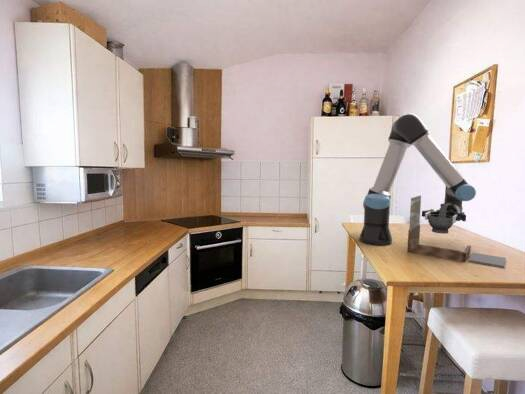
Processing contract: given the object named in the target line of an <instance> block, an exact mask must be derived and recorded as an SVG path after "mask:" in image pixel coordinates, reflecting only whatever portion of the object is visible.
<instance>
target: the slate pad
mask: <svg viewBox="0 0 525 394" xmlns="http://www.w3.org/2000/svg"><path fill="white" fill-rule="evenodd" d="M468 262H469V263H474V264H479V265H484V266H489V267H496V268H502V269H504V268H505V265H506V264H505V263H506V257H504V256H497V255H492V254H491V255H490V254H483V253H479V252H472V253H471V254H470V255H469V257H468Z"/></svg>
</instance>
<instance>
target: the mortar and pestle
mask: <svg viewBox="0 0 525 394" xmlns="http://www.w3.org/2000/svg"><path fill="white" fill-rule="evenodd" d="M439 206H440V207H439V209H440V212H439V215H437V214H432V215H428V219H427V221H428V222H427V223H428V224H429V226H430V227H431V232H432V233H435V234H443V235H445V234H448V233H449V229H451V228H452V226H453V225H454V223H452V220H453V217H452V216H447V215H446V210H447V207H448V205H447V204H444V203H440V205H439Z"/></svg>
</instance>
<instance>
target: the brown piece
mask: <svg viewBox="0 0 525 394" xmlns="http://www.w3.org/2000/svg"><path fill="white" fill-rule="evenodd" d="M421 203H422V195H416V196H414V197H411V198H410V206H409V207H410V208H409V209H410V210H409V214H410V215H409V227H408V228H409V229H408V230H407V231H408V234H407V238H408V239H407V253H411V254H418V255H422V256H423V255H424V256H428V257H433V258H439V259H445V260H450V261H456V262H461V263H467V261H468V260H469V258H470V256H471V251H472V250H471V249H472V246H471V245H467V246H466V247H465V248H464V250H457V249H451V248H444V247H439V246H432V245H427V244H421V243H420V236H421V233H420V232H421V222H420V221H421Z"/></svg>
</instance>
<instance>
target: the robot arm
mask: <svg viewBox="0 0 525 394" xmlns="http://www.w3.org/2000/svg"><path fill="white" fill-rule="evenodd" d="M430 133H431V132H430V130H429V128H427V126H426V125H425V124H424V122H423V121H422V119H421V118H420V117H419V116H418V115H416V114H414V113H405V114H402V115H401V116H400V117H398V118H397V119H396V120H395V121H394V122H393V123H392V126H391V131H390V134H389V137H388V139H387V141H388V143H389V145H388V147H387V150H386V153H385V155H384V157H383V161H382V164H381V166H380V169H379V171H378V173H377V176H376V179H375V181H374V184H373V186H371V187H370V188H369V189H368V192H367V193H366V195H365V197H364V200H363V201H362V202H363V204H362V205H363V209H364V211H363V212H364V213H363V214H364V215H363V227H362V230H361V232H360V235H359V241H360V242H361V243H364V244H367V245H372V246H373V245H374V246H387V245H391V244H393V237H392V234H391V231H390V225H389V224H390V205H391V198H392V194H391V190H392V187H393V184H394V182H395V179H396V177H397V174H398V171H399V169H400V166H401V165H402V161H403V159H404V156H405V154H406V151H407V149H408V148H410V147H411V146H414V147H415V149H416V150H417V151H418V152H419V153H420V155H421V156H422V157H423V158H424V160H425V161H426V162H427V164H428V165H429V166H430V167H431V169H432V171H434V173H435V174H437V177H439V179H440V180H441V182H443V184H444V187H445V189H444V192H445V193H444V202H443V204H447V205H448V207H447V210H446V215H447V216H452V217H453V220H452V223H453V224H455V223H457V222H461V221H462V222H467V215H466V214H465V212H463V202H469V201H472V200H473V199H475V197H476V194H477V191H476V188H475V187H474V186H472V185H470V184H469V183H468V182H467V181H466V179H465V178H464V177H463V175H462V174H461V173H460V172H459V170H458V169H457V168H456V166H454V164H453V163H452V162H451V160H450V159H449V158H448V157H447V155H446V154H445V153H444V151H442V149H441V148H440V147H439V145H438V144H437V143H436V142H435V140H434V139H433V138H432V137H431V135H430ZM439 212H440V208H439V209H436V210H434V209H433V208H430V209H426V210H422V211H421V217H424V220H426V221H428V215H432V214H437V215H439Z"/></svg>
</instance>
